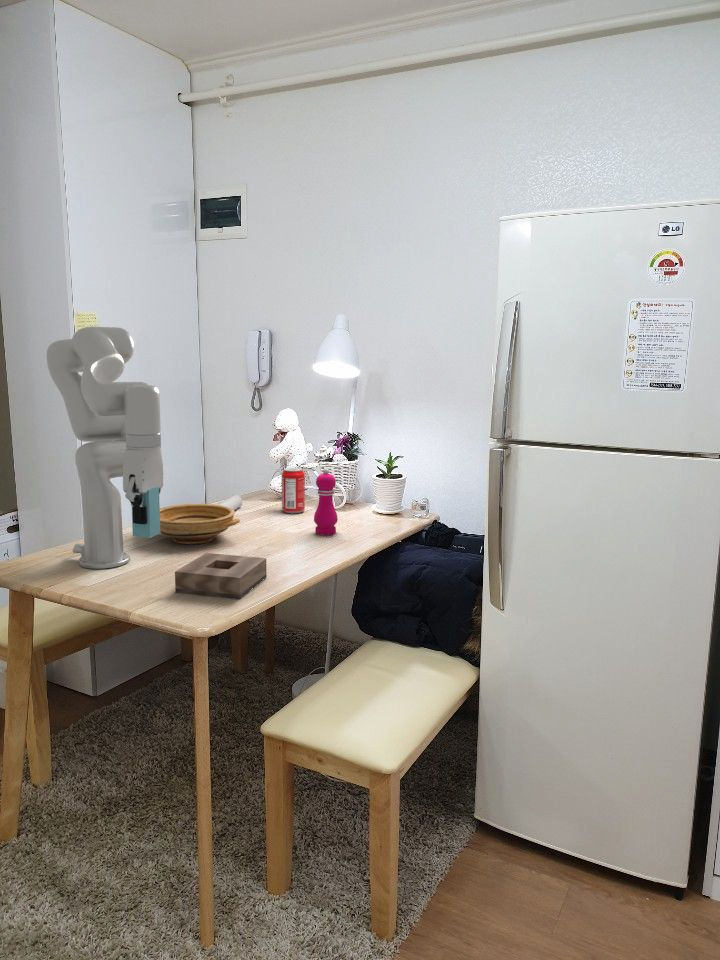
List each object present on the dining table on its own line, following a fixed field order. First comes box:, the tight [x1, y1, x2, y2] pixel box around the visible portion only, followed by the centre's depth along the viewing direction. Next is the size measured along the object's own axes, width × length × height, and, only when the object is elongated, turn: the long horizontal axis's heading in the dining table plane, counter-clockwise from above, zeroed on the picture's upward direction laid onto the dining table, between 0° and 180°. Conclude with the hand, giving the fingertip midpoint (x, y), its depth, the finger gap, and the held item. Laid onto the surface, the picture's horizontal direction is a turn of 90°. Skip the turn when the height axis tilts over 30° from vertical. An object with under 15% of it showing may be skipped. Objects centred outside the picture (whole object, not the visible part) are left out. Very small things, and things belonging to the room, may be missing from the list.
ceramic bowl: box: [159, 503, 241, 544], centre depth 213 cm, size 30×24×8 cm
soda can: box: [281, 467, 306, 515], centre depth 248 cm, size 8×8×15 cm
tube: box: [217, 494, 243, 511], centre depth 245 cm, size 5×5×25 cm
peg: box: [131, 486, 161, 539], centre depth 165 cm, size 4×4×11 cm
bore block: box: [174, 552, 268, 600], centre depth 172 cm, size 16×16×5 cm
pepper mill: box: [313, 467, 338, 536], centre depth 220 cm, size 7×7×20 cm
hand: (146, 520), depth 165 cm, fingers closed on peg, 4 cm apart
